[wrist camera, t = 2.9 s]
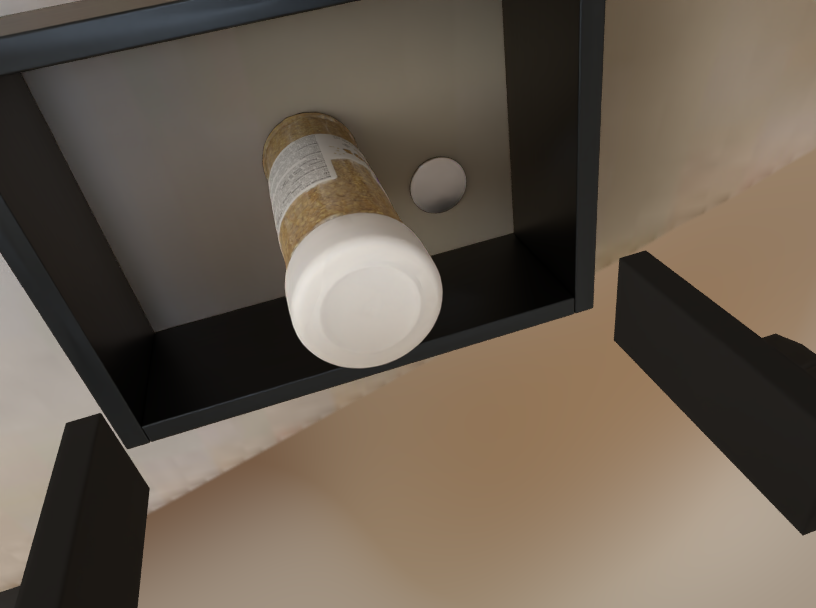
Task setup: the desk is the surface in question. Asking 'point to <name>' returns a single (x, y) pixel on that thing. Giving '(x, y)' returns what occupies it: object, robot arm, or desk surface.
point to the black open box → (270, 322)
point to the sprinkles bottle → (345, 248)
